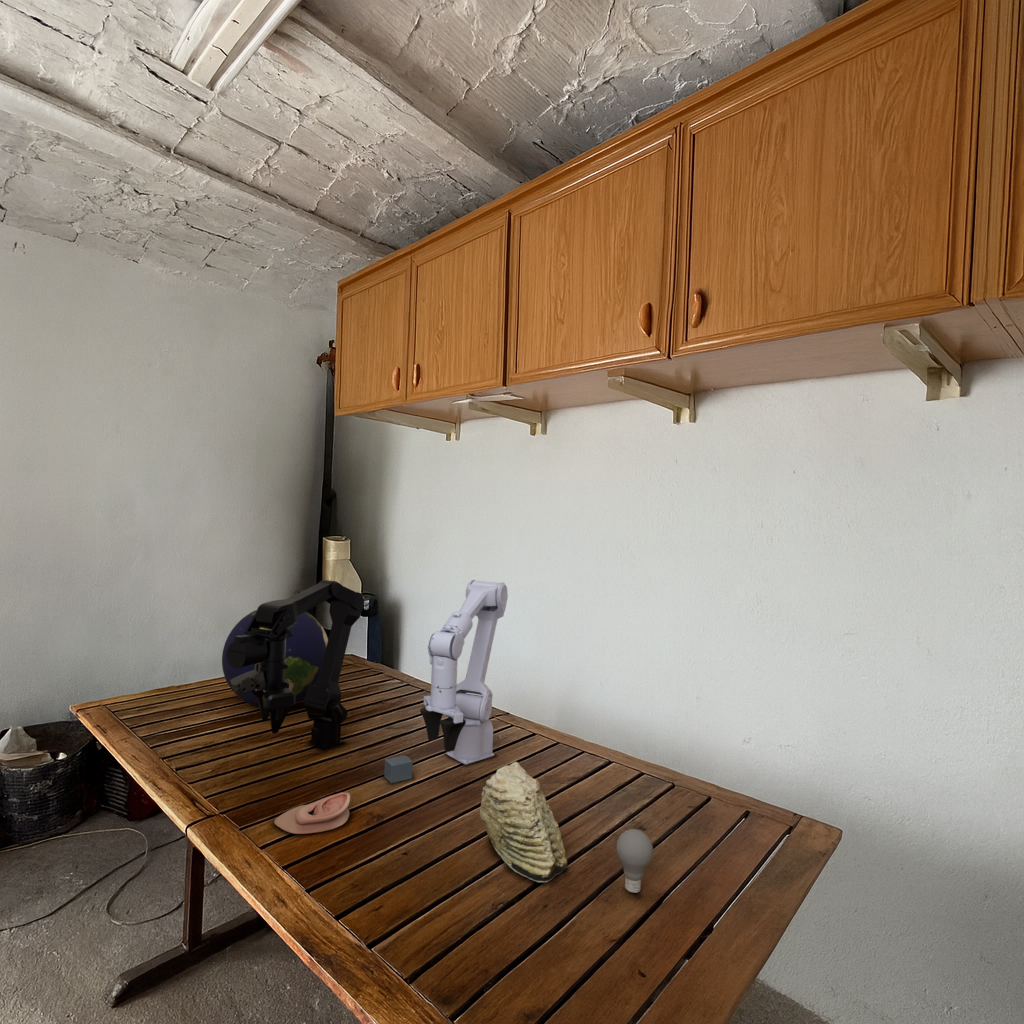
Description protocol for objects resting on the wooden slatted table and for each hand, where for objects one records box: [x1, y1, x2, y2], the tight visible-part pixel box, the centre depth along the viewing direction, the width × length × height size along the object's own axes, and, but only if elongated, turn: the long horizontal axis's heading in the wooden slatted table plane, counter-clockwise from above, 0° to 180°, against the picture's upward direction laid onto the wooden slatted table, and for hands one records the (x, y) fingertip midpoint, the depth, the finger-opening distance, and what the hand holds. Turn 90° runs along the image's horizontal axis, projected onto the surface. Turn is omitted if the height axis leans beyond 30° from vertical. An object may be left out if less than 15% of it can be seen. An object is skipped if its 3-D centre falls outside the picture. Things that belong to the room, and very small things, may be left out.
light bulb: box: [615, 828, 654, 894], centre depth 106 cm, size 6×6×10 cm
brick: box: [383, 754, 414, 784], centre depth 144 cm, size 4×5×4 cm
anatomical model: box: [274, 791, 351, 835], centre depth 124 cm, size 13×4×12 cm
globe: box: [221, 608, 329, 708], centre depth 188 cm, size 30×30×30 cm
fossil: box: [479, 761, 569, 883], centre depth 114 cm, size 9×18×15 cm, turn 46°
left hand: (269, 726), depth 145 cm, fingers open, 9 cm apart
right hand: (441, 745), depth 143 cm, fingers open, 7 cm apart
